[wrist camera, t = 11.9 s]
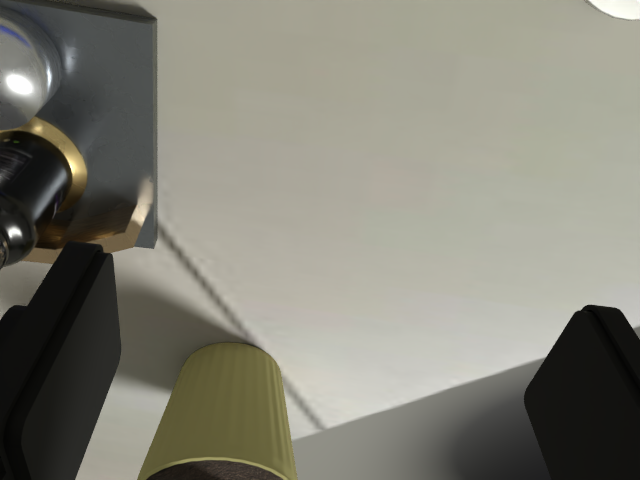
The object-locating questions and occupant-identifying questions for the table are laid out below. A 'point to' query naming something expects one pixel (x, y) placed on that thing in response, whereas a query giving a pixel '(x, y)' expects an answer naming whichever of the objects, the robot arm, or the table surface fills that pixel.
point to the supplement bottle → (28, 191)
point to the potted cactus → (224, 420)
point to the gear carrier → (86, 115)
